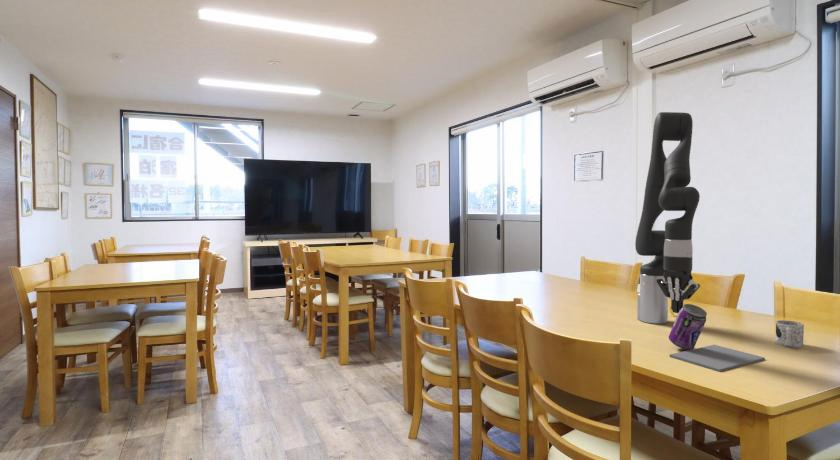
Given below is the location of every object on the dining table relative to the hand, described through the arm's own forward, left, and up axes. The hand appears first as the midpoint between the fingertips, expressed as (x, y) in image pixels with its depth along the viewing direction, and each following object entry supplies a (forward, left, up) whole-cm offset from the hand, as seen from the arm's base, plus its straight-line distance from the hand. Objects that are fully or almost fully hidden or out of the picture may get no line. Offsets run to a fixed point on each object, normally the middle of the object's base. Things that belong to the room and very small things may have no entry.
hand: (677, 312), depth 143 cm
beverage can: (+1, 0, -9) cm, 9 cm away
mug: (+15, +31, -11) cm, 36 cm away
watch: (-25, +37, -11) cm, 46 cm away
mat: (+12, +1, -11) cm, 16 cm away
